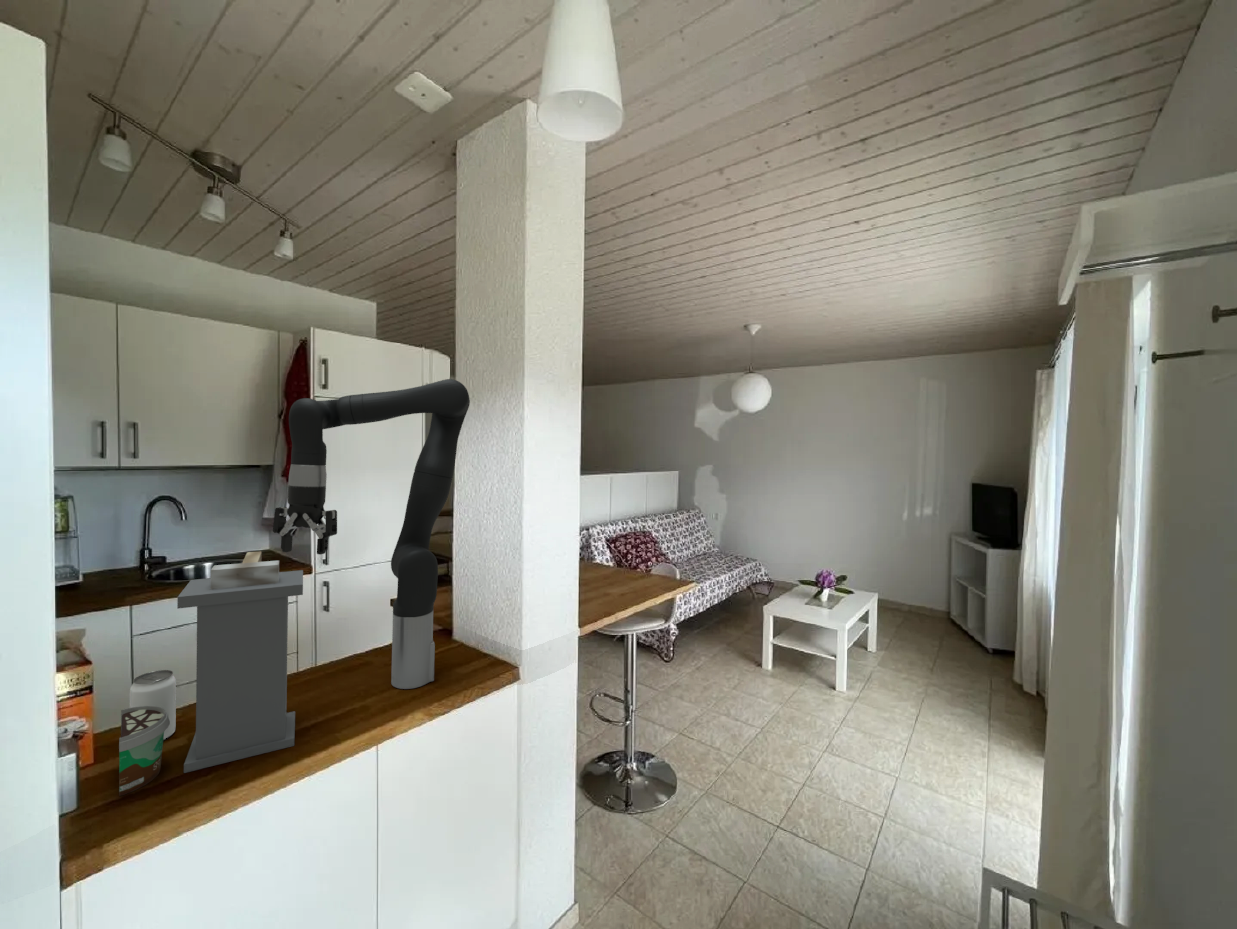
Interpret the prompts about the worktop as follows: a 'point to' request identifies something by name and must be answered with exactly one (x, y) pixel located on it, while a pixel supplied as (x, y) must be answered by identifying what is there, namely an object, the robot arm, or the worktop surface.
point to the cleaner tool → (245, 572)
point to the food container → (140, 746)
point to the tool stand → (240, 669)
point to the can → (156, 694)
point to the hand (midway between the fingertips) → (303, 552)
